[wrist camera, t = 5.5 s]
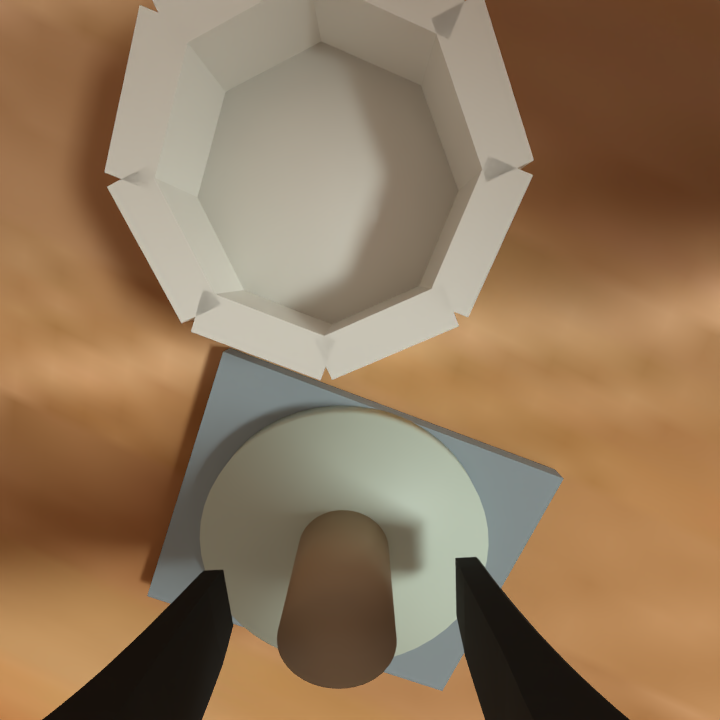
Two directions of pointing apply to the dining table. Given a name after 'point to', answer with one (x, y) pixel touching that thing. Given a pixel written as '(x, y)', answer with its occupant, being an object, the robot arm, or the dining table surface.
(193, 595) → the robot arm
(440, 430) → the mat
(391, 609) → the cover
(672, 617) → the dining table surface
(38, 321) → the dining table surface
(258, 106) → the octagonal storage bin
